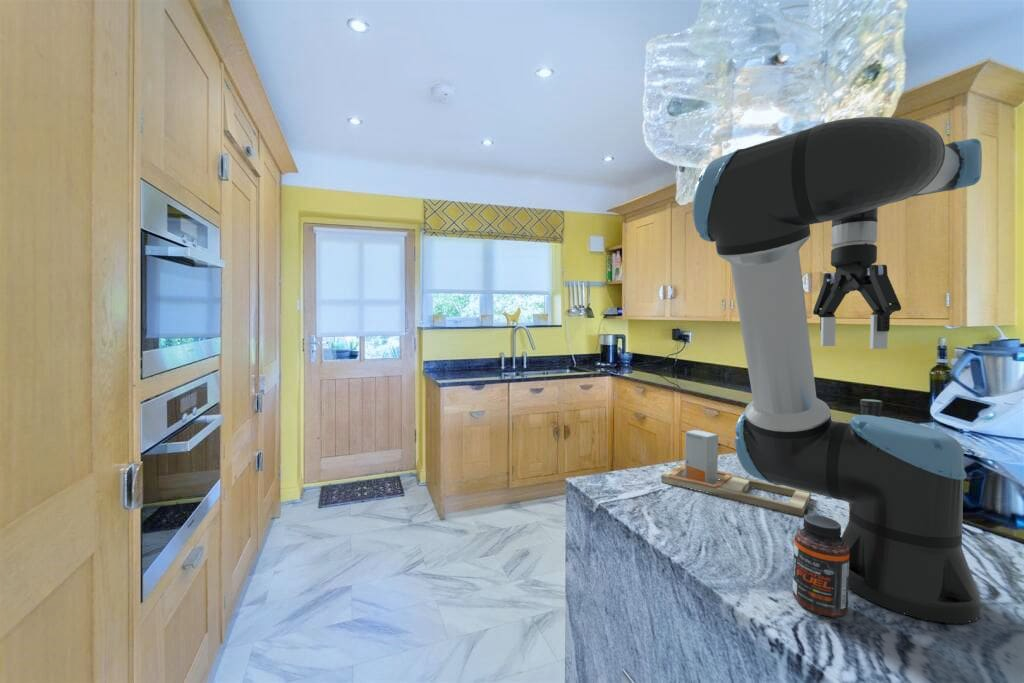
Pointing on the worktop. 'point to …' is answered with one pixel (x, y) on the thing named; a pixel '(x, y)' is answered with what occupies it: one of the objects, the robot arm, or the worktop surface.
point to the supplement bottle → (821, 567)
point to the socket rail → (742, 490)
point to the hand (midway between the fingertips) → (851, 347)
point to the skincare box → (701, 456)
